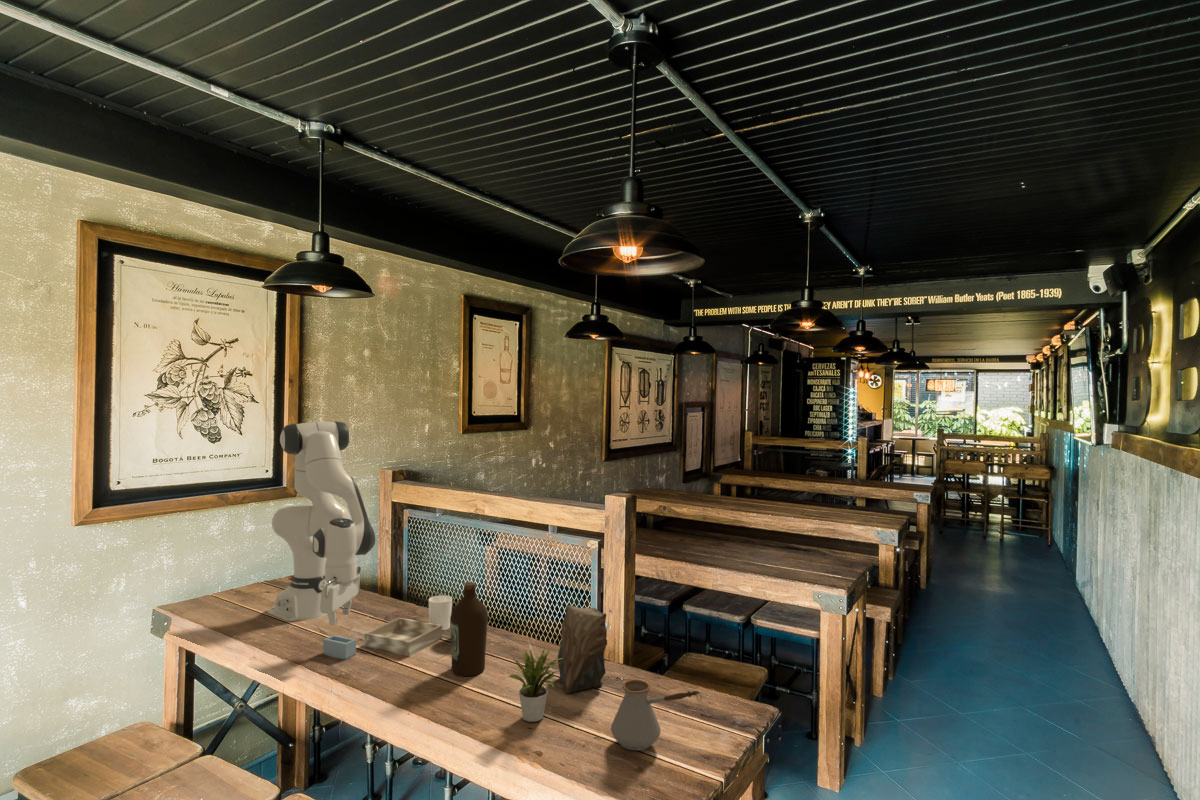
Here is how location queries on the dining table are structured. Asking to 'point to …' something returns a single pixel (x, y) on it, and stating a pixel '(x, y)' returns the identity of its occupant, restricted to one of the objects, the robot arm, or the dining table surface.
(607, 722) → the dining table surface
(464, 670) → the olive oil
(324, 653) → the box
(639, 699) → the coffee pot
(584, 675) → the brown rock
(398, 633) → the beige shallow tray
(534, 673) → the house plant
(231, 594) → the dining table surface
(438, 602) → the white cup
